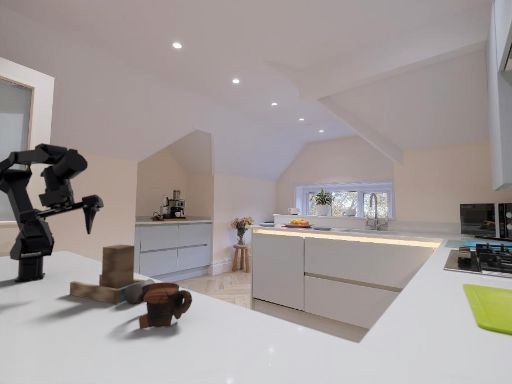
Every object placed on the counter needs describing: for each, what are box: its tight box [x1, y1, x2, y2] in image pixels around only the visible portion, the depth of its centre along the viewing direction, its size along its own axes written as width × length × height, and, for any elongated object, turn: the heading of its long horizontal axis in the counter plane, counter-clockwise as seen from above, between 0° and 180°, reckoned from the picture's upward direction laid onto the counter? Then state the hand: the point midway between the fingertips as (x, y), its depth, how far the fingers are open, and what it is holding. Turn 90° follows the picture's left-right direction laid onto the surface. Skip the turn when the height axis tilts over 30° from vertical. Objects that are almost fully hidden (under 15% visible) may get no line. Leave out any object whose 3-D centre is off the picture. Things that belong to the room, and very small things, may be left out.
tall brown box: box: [101, 243, 135, 289], centre depth 68 cm, size 5×5×12 cm
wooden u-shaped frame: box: [69, 273, 156, 305], centre depth 68 cm, size 20×9×4 cm, turn 68°
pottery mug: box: [137, 281, 193, 329], centre depth 55 cm, size 12×10×8 cm
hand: (70, 239), depth 74 cm, fingers open, 9 cm apart
